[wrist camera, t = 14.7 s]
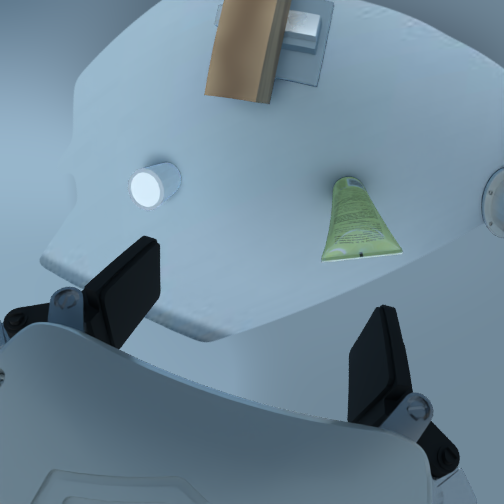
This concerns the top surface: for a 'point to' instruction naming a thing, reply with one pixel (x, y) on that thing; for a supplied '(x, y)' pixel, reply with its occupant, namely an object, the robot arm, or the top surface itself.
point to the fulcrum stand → (302, 40)
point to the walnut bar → (247, 49)
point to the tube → (356, 225)
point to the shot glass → (153, 185)
